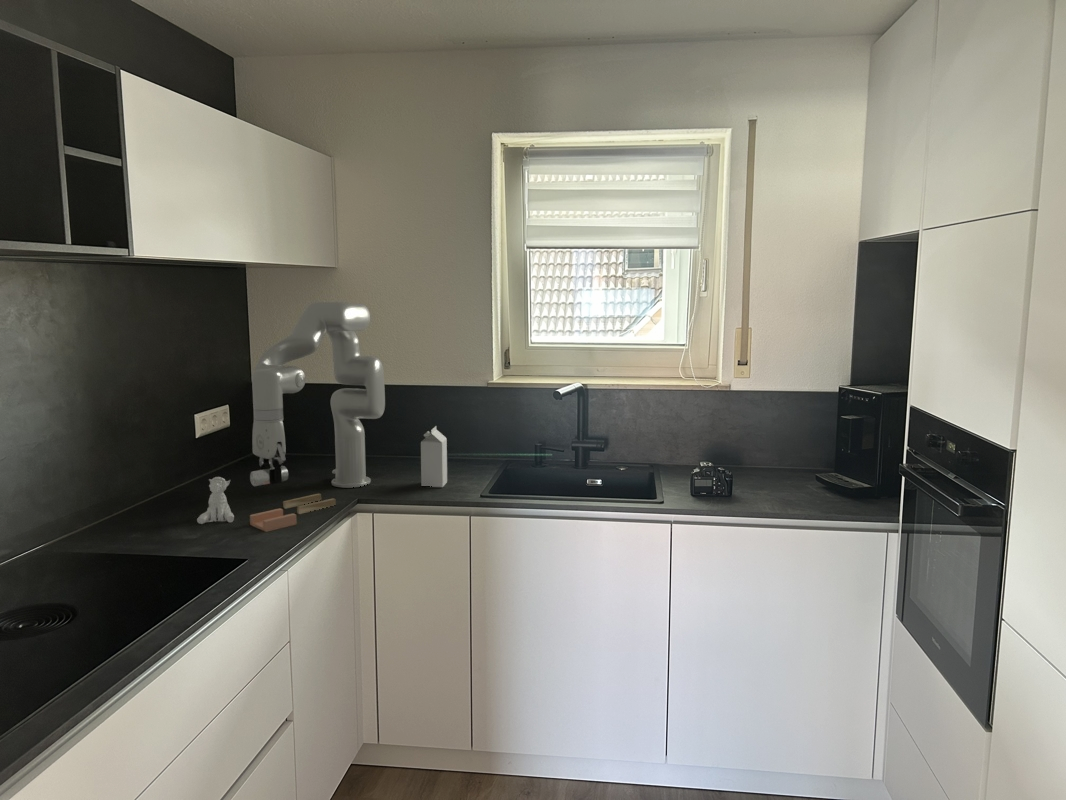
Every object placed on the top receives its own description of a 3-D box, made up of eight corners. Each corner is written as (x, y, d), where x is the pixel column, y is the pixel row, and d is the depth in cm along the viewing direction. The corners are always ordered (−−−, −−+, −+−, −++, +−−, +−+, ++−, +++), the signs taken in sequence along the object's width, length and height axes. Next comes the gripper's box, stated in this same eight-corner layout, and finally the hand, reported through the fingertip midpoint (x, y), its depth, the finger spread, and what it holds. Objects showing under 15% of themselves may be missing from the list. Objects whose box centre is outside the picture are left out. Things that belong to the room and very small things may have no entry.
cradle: (250, 525, 210) (249, 515, 209) (280, 517, 216) (280, 508, 216) (266, 531, 204) (265, 521, 204) (296, 524, 211) (296, 514, 210)
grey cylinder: (257, 488, 204) (257, 473, 203) (249, 484, 206) (250, 469, 205) (288, 482, 210) (288, 468, 209) (280, 478, 213) (280, 464, 212)
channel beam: (283, 507, 226) (282, 501, 226) (319, 499, 235) (318, 493, 234) (299, 514, 220) (299, 507, 220) (335, 505, 229) (335, 499, 228)
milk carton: (447, 482, 256) (446, 426, 254) (442, 487, 249) (442, 430, 247) (426, 481, 257) (425, 425, 254) (421, 487, 250) (420, 429, 247)
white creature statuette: (196, 524, 210) (194, 482, 208) (203, 515, 218) (200, 474, 217) (233, 522, 212) (231, 480, 210) (238, 513, 220) (236, 473, 219)
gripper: (240, 413, 209) (243, 478, 211) (271, 420, 197) (274, 489, 200) (265, 410, 214) (268, 474, 217) (297, 417, 203) (300, 484, 206)
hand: (271, 480), depth 208 cm, fingers closed on grey cylinder, 4 cm apart
